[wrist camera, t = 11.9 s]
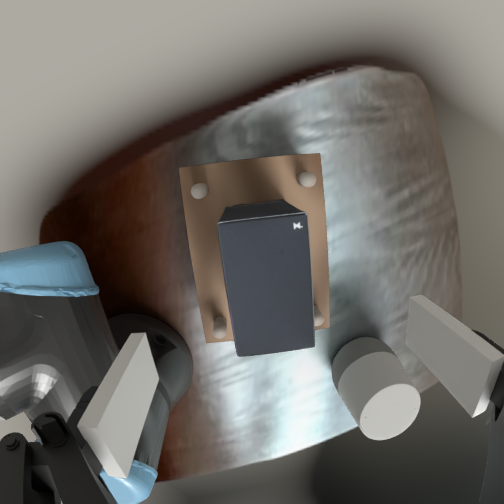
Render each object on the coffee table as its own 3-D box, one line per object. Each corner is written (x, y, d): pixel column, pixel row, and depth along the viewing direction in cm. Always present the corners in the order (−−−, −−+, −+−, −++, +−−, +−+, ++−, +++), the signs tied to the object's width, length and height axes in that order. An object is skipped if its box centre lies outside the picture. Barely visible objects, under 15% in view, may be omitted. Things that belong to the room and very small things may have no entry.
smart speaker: (391, 329, 41) (440, 381, 28) (377, 379, 43) (414, 437, 30) (332, 331, 41) (369, 393, 27) (321, 384, 43) (348, 450, 29)
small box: (220, 206, 30) (211, 219, 20) (286, 198, 30) (311, 207, 20) (234, 306, 32) (234, 360, 22) (295, 298, 33) (319, 348, 22)
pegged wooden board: (210, 320, 39) (204, 354, 31) (188, 169, 35) (173, 167, 26) (317, 306, 39) (336, 337, 31) (306, 157, 35) (327, 151, 27)
